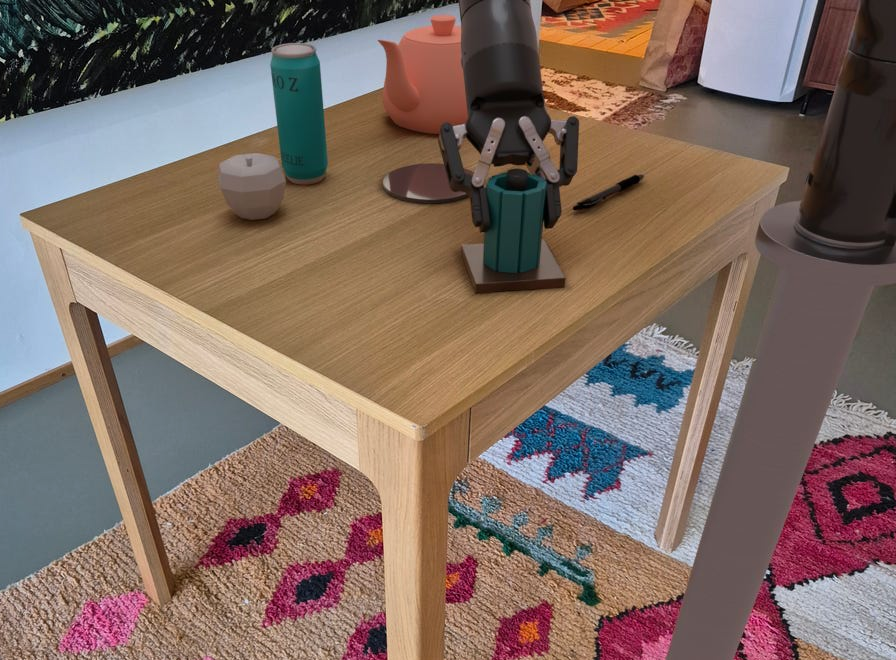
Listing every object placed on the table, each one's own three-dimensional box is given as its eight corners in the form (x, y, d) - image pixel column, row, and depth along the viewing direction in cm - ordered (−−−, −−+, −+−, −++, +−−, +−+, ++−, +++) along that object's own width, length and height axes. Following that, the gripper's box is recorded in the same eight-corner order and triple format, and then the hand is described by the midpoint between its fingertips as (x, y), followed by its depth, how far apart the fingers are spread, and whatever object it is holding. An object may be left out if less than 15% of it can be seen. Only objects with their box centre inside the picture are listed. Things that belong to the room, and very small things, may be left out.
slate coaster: (486, 170, 107) (487, 166, 106) (470, 207, 98) (470, 203, 98) (396, 164, 109) (396, 160, 109) (371, 199, 100) (371, 195, 100)
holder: (543, 247, 89) (552, 153, 83) (564, 287, 82) (576, 187, 76) (460, 253, 89) (463, 158, 82) (475, 293, 82) (479, 192, 75)
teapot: (427, 155, 111) (427, 45, 103) (338, 129, 120) (330, 25, 111) (533, 109, 126) (541, 9, 117) (447, 89, 134) (448, -6, 125)
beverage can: (299, 167, 108) (286, 40, 99) (337, 173, 107) (327, 45, 97) (274, 182, 105) (258, 51, 95) (313, 189, 103) (301, 56, 93)
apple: (213, 227, 94) (202, 169, 90) (232, 200, 100) (224, 144, 96) (281, 229, 94) (274, 171, 89) (297, 202, 100) (291, 146, 95)
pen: (581, 216, 95) (582, 206, 94) (569, 212, 96) (570, 202, 95) (650, 182, 103) (651, 173, 102) (638, 179, 103) (640, 170, 103)
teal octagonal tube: (542, 251, 86) (549, 174, 81) (535, 275, 82) (542, 196, 77) (488, 246, 87) (492, 170, 82) (479, 270, 83) (482, 191, 78)
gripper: (432, 42, 78) (449, 217, 76) (582, 36, 79) (601, 207, 78) (425, 87, 85) (440, 246, 84) (562, 80, 86) (580, 237, 85)
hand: (518, 227), depth 81 cm, fingers closed on teal octagonal tube, 6 cm apart
